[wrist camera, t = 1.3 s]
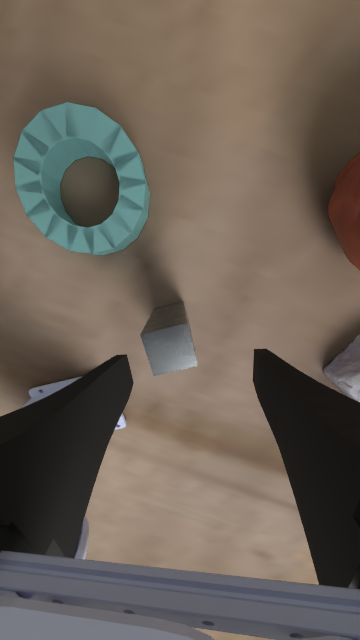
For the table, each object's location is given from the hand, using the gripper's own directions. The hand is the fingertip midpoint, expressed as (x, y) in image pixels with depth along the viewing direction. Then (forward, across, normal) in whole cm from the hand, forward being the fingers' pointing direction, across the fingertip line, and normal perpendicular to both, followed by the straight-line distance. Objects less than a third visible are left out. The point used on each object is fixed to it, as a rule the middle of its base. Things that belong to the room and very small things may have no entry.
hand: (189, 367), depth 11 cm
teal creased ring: (+10, +8, -12) cm, 17 cm away
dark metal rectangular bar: (+10, +2, +1) cm, 10 cm away
